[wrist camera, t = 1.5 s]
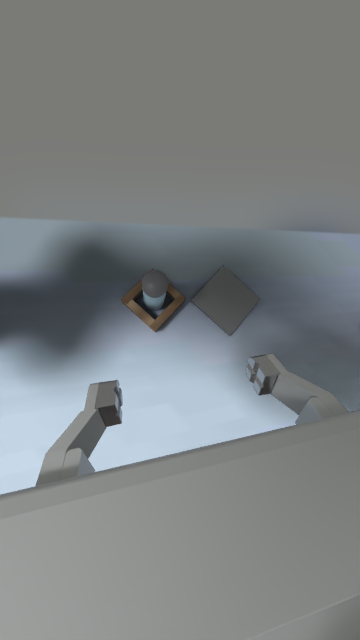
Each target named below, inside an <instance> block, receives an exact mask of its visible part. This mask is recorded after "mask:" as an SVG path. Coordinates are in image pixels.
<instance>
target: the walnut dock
mask: <svg viewBox="0 0 360 640" xmlns="http://www.w3.org/2000/svg"><path fill="white" fill-rule="evenodd" d="M152 270H154V269H152ZM142 293H143V289H142V280H141V281H139V282H138V283H137V284H136V285H135V286H134V287H133V288H132V289H131V290H130V291H129V292H128V293H127V294H126V295H125V296H124V297H123V298H122V299H121V301H122V302H123V303H124V304H125V305H126V306H127V307H128V308H129V309H130V310H131V311H132V312H134V313H135V314H136V315H137V316H138V317H139V318H140V319H141V320H142V321H143V322H144V323H146V324H147V325H148V326H149V327H150V328H151V329H152V330H153V331H154V332H156V331H157V330H158V329H159V327H160V326H161V325H162V324H163V323H164V322H165V321H166V320H167V319H168V318H169V317H170V316H171V315H172V314H173V313H174V311H175V310H176V309H177V308H178V307H179V306H180V305H181V304H182V303H183V302H184V301H185V299H186V298H185V297H184V296H183V295H182V294H180V293H179V292H178V291H177V290H176V289H175V288H174V287H173V286H172V285H171V284H169V283H168V287H167V291H166V294H167V295H168V296H169V297H170V298H171V299H172V300H173V302H172V303H171V304H170V305H169V306H168V307H167V308H166V309H165V310H164V311H163V312H162V313H161V314H160V315H159V316H158V317H157V318H156V319H155V320H154V319H153V318H152V317H151V316H150V315H149V314H148V313H147V312H146V311H144V310H143V309H142V308H141V307H140V306H139V305H138V304H137V303H136V302H135V301H134V300H136V299H137V298H138V297H139V296H140V295H141V294H142Z"/></svg>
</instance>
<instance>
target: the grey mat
mask: <svg viewBox="0 0 360 640" xmlns="http://www.w3.org/2000/svg"><path fill="white" fill-rule="evenodd" d="M259 300H260V298H259V297H258V296H257V295H256V294H255V293H254V292H253V291H251V290H250V289H249V288H248V287H247V286H246V285H245V284H244V283H243V282H241V281H240V280H239V279H238V278H237V277H236V276H235V275H234V274H233V273H231V272H230V271H229V270H228V269H227V268H226V267H225V266H224V265H223V266H222V267H221V269H220V270H219V271H218V272H217V273H216V274H215V275H214V276H213V277H212V278H211V279H210V280H209V282H208V283H207V284H206V285H205V286H204V287H203V288H202V289H201V290H200V291H199V292H198V293H197V294H196V296H195V297H194V298H193V299H192V300H191V302H193V303H194V304H195V305H196V306H197V307H198V308H199V309H200V310H201V311H202V312H204V313H205V314H206V315H207V316H208V317H209V318H210V319H211V320H212V321H214V322H215V323H216V324H217V325H218V326H219V327H220V328H221V329H222V330H223V331H225V332H226V333H227V334H228V335H229V336H230V335H231V334H232V333H233V332H234V331H235V329H236V328H237V327H238V326H239V324H240V323H241V322H242V321H243V320H244V318H245V317H246V316H247V315H248V313H249V312H250V311H251V310H252V308H253V307H254V306H255V305H256V304H257V302H258V301H259Z"/></svg>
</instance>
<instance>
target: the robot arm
mask: <svg viewBox="0 0 360 640" xmlns="http://www.w3.org/2000/svg"><path fill="white" fill-rule="evenodd" d="M248 363H249V364H248V365H247V367H246V375H247V377H248V379H249V381H251V382H252V383H253V388H254V389H255V391H256V392H257V394H258V396H259V395H265V394H270V393H271V395H273V396H274V397H275V398H277V399H278V400H279V401H281V402H282V403H283V404H285V405H286V406H287V407H289V408H290V409H291V410H293V411H294V412H295V413H297V414H298V415H299V416H298V418H297V419H296V422H295V424H296V425H293V426H289V427H285V428H281V429H276V430H272V431H268V432H264V433H259V434H255V435H251V436H247V437H242V438H238V439H234V440H230V441H225V442H221V443H217V444H213V445H208V446H204V447H200V448H196V449H191V450H187V451H183V452H179V453H175V454H170V455H166V456H162V457H158V458H153V459H149V460H145V461H141V462H136V463H132V464H128V465H124V466H120V467H115V468H111V469H107V470H103V471H98V472H95V469H94V468H93V466H92V465H91V463H90V462H89V460H88V458H89V457H90V455H91V453H92V451H93V450H94V448H95V446H96V445H97V443H98V441H99V440H100V438H101V436H102V434H103V433H104V431H105V429H106V427H108V426H112V425H117V424H121V423H122V410H121V406H122V404H123V399H122V391H121V388H119V381H118V380H114V381H107V382H100V383H94V384H90V386H89V388H88V393H87V398H86V403H85V408H84V411H82V412H80V413H79V415H78V416H77V417H76V418H75V419H74V421H73V422H72V423H71V424H70V425H69V427H68V428H67V429H66V430H65V431H64V433H63V434H62V435H61V436H60V437H59V439H58V440H57V441H56V442H55V443H54V445H53V446H52V447H51V448H50V449H49V450H48V452H47V453H46V454H45V458H44V461H43V464H42V467H41V470H40V473H39V477H38V480H37V483H36V486H35V487H31V488H26V489H22V490H18V491H14V492H9V493H5V494H1V495H0V640H360V410H357V411H353V412H349V411H348V410H347V409H346V408H345V407H344V406H343V405H342V404H341V403H340V402H339V401H338V400H337V398H336V397H335V396H334V395H333V394H332V393H330V392H328V391H326V390H325V389H323V388H321V387H319V386H317V385H315V384H313V383H311V382H309V381H307V380H305V379H303V378H301V377H299V376H297V375H296V374H294V373H292V372H288V371H287V370H286V369H285V367H284V366H283V365H282V364H281V363H280V361H279V360H278V359H277V358H276V357H275V355H274V354H266V355H260V356H254V357H250V358H249V359H248Z"/></svg>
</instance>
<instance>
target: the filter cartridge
mask: <svg viewBox="0 0 360 640" xmlns="http://www.w3.org/2000/svg"><path fill="white" fill-rule="evenodd" d="M167 287H168V279H167V277H166V275H165V274H164V273H162V272H161V271H158V270H151V271H149V272H147V273H146V274H145V275H144V276H143V278H142V289H143V297H144V304H145V306H146V308H147V309H149V310H151V311H157V310H159V309H161V308H162V306H163V303H164V299H165V295H166V291H167Z"/></svg>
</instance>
